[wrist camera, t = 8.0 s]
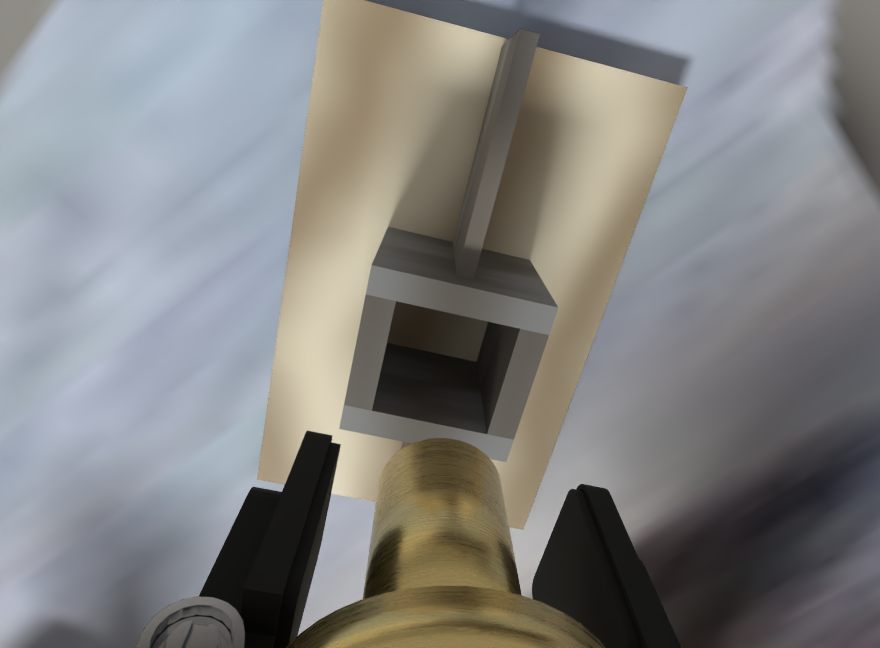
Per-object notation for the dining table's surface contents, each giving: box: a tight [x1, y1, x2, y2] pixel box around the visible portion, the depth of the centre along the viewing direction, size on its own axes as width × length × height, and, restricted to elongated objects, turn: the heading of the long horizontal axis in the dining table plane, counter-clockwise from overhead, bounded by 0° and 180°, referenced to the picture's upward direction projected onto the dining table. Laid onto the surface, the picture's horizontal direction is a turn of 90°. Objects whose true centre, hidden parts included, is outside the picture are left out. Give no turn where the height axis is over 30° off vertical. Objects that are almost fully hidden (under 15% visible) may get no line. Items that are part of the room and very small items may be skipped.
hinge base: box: [257, 0, 688, 530], centre depth 22 cm, size 14×22×7 cm, turn 167°
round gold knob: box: [286, 438, 606, 648], centre depth 10 cm, size 5×5×6 cm
